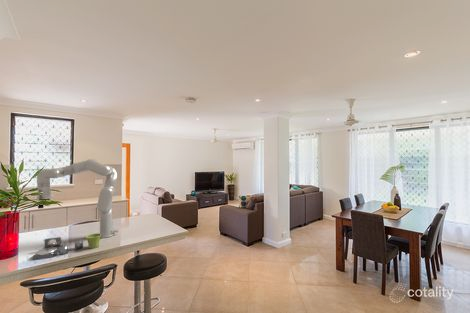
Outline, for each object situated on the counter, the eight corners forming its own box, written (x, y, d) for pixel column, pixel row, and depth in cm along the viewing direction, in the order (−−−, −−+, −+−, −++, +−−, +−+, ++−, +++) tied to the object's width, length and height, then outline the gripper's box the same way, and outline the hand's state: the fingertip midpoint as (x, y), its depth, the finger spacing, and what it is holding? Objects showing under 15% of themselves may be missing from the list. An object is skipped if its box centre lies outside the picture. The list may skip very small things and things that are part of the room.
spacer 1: (69, 251, 152) (69, 244, 152) (66, 254, 147) (66, 247, 147) (60, 252, 150) (60, 245, 150) (57, 255, 145) (57, 248, 145)
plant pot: (86, 246, 160) (86, 235, 160) (101, 243, 165) (100, 232, 165) (86, 251, 152) (86, 238, 152) (101, 247, 158) (101, 235, 158)
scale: (44, 250, 154) (44, 238, 154) (63, 248, 158) (62, 236, 158) (32, 260, 140) (32, 247, 140) (52, 257, 143) (52, 244, 143)
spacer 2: (84, 246, 161) (84, 239, 161) (81, 249, 156) (81, 242, 156) (76, 247, 159) (76, 240, 159) (73, 250, 154) (73, 243, 154)
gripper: (43, 186, 160) (44, 208, 160) (54, 183, 176) (55, 204, 176) (31, 186, 157) (31, 209, 157) (43, 184, 174) (44, 204, 174)
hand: (44, 206), depth 167 cm, fingers open, 9 cm apart
